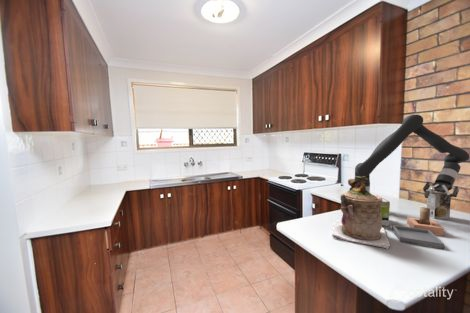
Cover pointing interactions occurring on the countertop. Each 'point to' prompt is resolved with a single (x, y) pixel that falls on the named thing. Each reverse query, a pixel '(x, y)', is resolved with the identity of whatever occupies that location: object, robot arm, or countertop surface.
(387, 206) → the tea box
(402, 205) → the countertop surface
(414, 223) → the salmon square ring
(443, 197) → the coffee box
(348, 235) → the cookie jar
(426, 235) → the gray tray
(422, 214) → the walnut dowel
